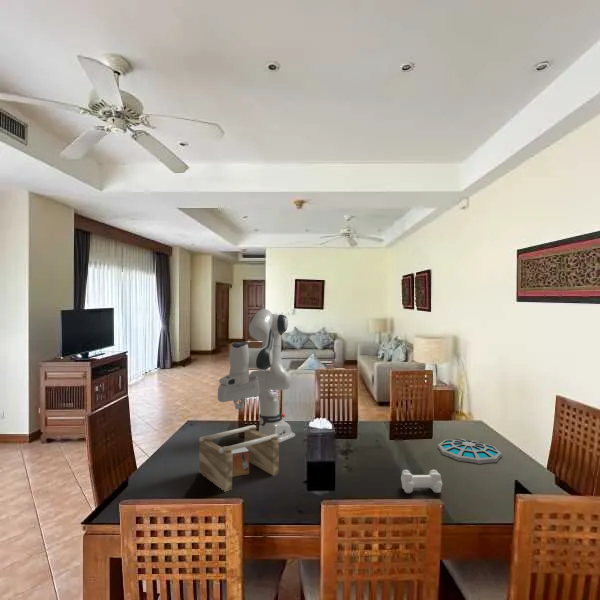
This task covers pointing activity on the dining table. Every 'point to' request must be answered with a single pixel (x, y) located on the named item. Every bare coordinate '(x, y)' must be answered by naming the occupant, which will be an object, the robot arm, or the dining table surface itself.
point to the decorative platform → (469, 451)
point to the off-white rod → (247, 443)
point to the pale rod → (226, 433)
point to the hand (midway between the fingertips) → (239, 408)
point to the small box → (240, 462)
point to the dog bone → (421, 481)
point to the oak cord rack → (220, 464)
